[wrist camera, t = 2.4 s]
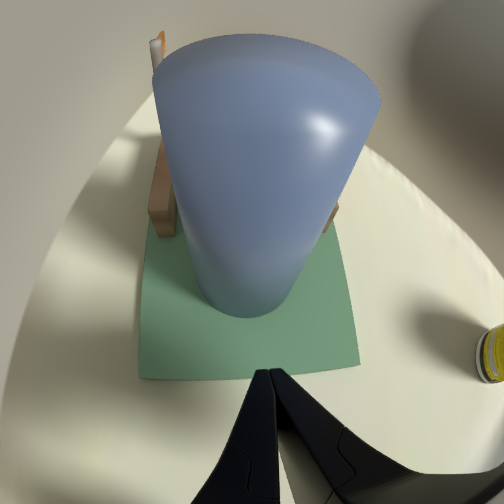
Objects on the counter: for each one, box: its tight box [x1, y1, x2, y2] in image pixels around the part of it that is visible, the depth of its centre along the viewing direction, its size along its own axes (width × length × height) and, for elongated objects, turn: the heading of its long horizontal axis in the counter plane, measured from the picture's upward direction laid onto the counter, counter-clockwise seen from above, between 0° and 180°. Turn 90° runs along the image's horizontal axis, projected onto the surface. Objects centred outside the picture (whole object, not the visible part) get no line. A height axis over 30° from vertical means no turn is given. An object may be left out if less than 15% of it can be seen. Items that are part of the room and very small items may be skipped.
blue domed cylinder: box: [152, 34, 381, 318], centre depth 12 cm, size 6×6×13 cm
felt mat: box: [139, 210, 360, 380], centre depth 19 cm, size 19×13×1 cm
